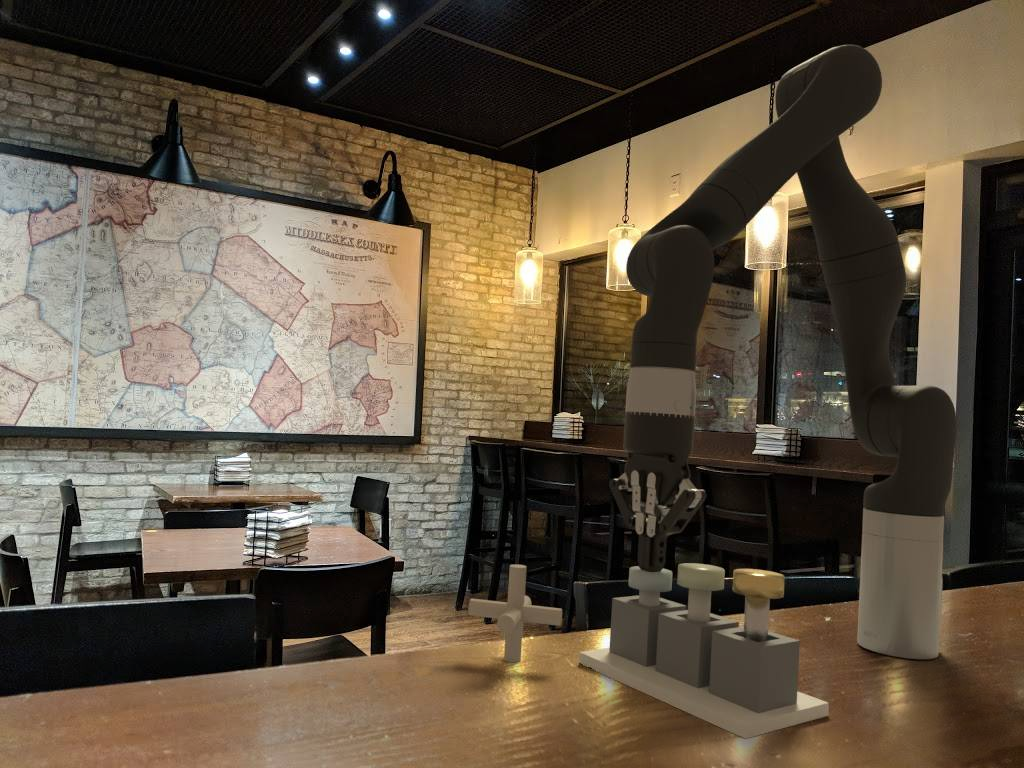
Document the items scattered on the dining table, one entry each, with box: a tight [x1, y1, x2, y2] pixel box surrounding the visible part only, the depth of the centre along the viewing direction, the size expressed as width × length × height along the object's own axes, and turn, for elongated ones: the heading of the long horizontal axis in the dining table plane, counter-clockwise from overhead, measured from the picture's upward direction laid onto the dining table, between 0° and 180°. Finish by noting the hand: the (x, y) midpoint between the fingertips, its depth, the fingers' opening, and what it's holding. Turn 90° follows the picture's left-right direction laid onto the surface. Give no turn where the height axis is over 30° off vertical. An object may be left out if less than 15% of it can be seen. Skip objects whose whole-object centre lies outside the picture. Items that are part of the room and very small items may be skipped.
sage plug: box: [676, 562, 726, 623], centre depth 80 cm, size 5×5×8 cm
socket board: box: [578, 595, 830, 740], centre depth 80 cm, size 12×22×7 cm, turn 35°
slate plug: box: [628, 565, 673, 607], centre depth 86 cm, size 5×5×8 cm
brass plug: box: [732, 568, 786, 642], centre depth 74 cm, size 5×5×8 cm
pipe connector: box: [467, 564, 563, 663], centre depth 86 cm, size 10×10×10 cm
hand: (650, 570), depth 86 cm, fingers closed
